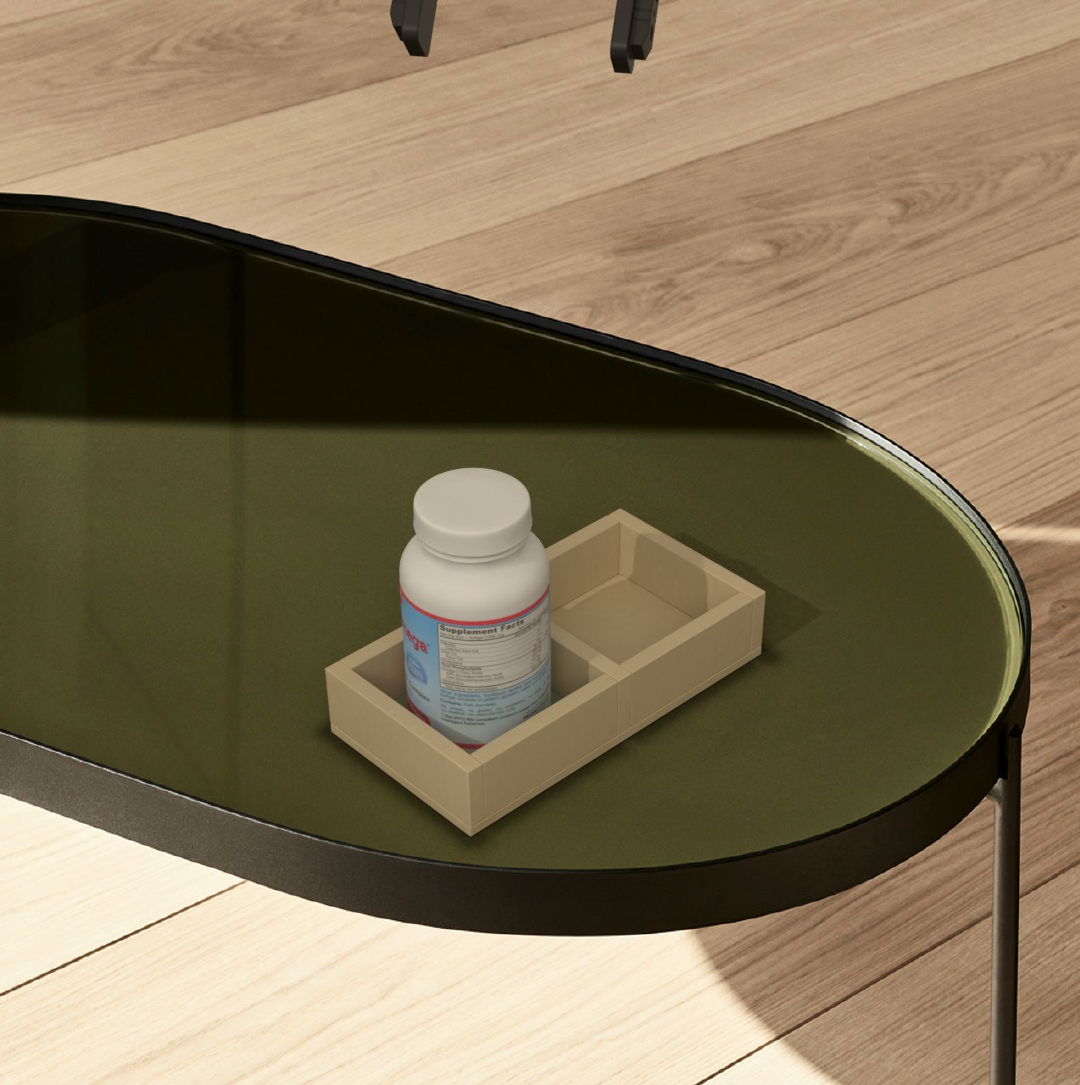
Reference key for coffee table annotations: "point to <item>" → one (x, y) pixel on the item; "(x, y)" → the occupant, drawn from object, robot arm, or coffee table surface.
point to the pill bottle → (475, 608)
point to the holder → (565, 671)
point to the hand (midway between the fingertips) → (517, 57)
